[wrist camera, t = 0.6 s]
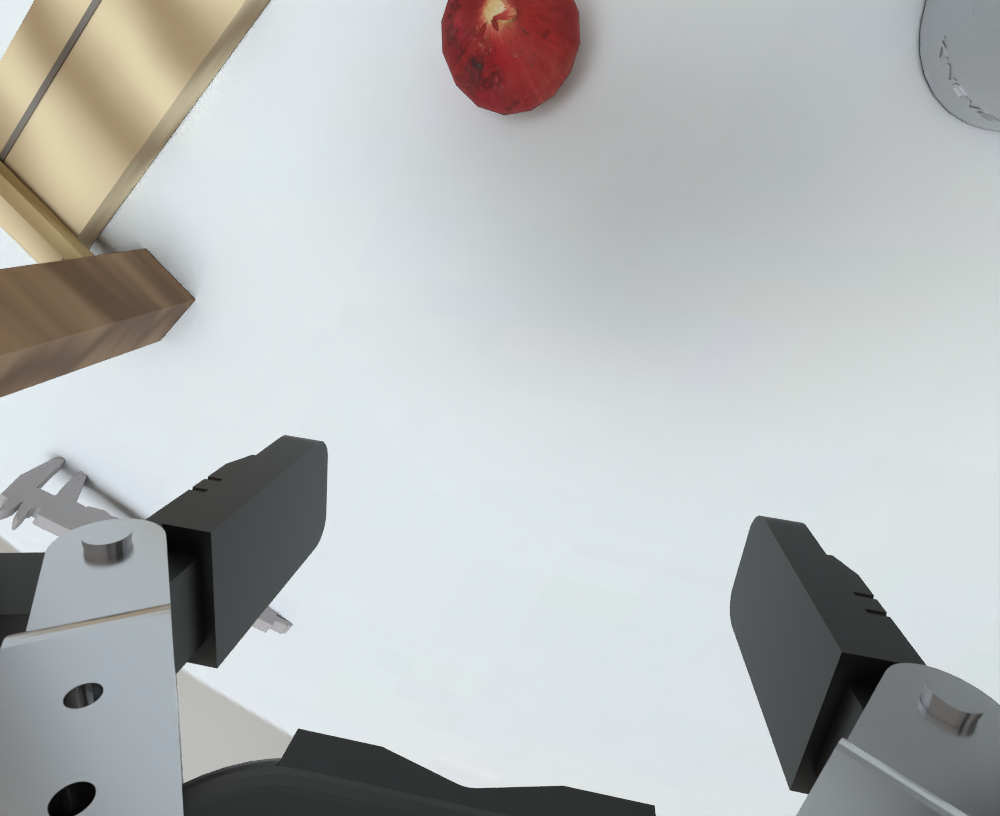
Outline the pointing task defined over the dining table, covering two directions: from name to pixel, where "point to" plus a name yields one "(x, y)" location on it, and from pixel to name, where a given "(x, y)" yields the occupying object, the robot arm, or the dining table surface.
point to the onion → (510, 50)
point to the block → (77, 301)
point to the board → (103, 99)
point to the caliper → (74, 515)
